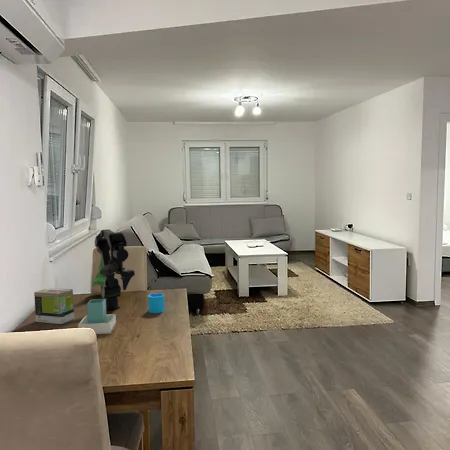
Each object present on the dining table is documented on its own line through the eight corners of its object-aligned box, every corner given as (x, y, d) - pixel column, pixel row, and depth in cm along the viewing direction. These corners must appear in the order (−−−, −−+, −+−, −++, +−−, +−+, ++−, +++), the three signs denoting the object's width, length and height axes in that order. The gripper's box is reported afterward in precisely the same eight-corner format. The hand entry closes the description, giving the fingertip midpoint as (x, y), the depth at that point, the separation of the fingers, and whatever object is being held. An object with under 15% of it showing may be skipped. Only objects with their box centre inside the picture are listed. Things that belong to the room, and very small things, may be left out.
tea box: (75, 318, 212) (73, 288, 210) (61, 325, 202) (59, 293, 201) (49, 316, 216) (48, 286, 215) (35, 322, 207) (33, 291, 206)
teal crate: (91, 325, 199) (90, 299, 197) (106, 324, 199) (105, 298, 198) (88, 330, 192) (87, 303, 191) (103, 329, 192) (102, 302, 191)
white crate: (86, 324, 202) (85, 315, 201) (115, 323, 203) (115, 314, 202) (78, 334, 188) (78, 324, 188) (110, 333, 189) (110, 323, 189)
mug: (166, 312, 220) (165, 296, 219) (149, 314, 217) (149, 297, 217) (161, 306, 231) (161, 290, 231) (146, 307, 229) (145, 292, 228)
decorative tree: (87, 297, 252) (85, 245, 249) (103, 290, 266) (101, 242, 264) (107, 298, 247) (105, 246, 244) (122, 292, 262) (121, 242, 259)
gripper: (90, 258, 212) (92, 290, 214) (117, 262, 202) (118, 295, 204) (108, 255, 222) (109, 285, 223) (134, 258, 211) (136, 290, 213)
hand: (117, 289), depth 215 cm, fingers open, 9 cm apart
